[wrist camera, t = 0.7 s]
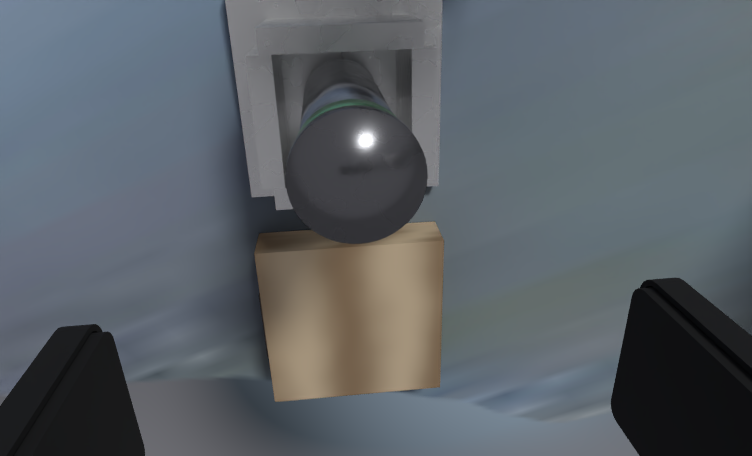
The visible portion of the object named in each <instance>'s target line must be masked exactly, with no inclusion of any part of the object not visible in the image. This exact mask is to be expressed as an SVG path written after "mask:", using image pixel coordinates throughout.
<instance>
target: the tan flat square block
mask: <svg viewBox="0 0 752 456" xmlns="http://www.w3.org/2000/svg"><path fill="white" fill-rule="evenodd" d="M254 255H255V263H256V270H257V277H258V284H259V291H260V293H259V300H260V307H261V314H262V322H263V329H264V336H265V343H266V350H267V357H269V363H270V370H271V377H272V384H273V391H274V398H275V402H281V401H292V400H303V399H314V398H325V397H336V396H347V395H358V394H369V393H380V392H391V391H402V390H413V389H424V388H435V387H440V367H441V330H442V293H443V256H444V240H443V238H442V236H441V233H440V231H439V229H438V227H437V225H436V223H435V222H420V223H407V224H405V225H404V226H403V227H402V228H401V229H399V230H398V231H396V232H395V233H393V234H392V235H390V236H388V237H386V238H383V239H380V240H378V241H374V242H370V243H363V244H348V243H341V242H336V241H333V240H330V239H327V238H325V237H323V236H321V235H319V234H317V233H316V232H314V231H313V230H301V231H286V232H271V233H259V236H258V240H257V244H256V249H255V253H254Z"/></svg>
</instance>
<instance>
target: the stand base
mask: <svg viewBox="0 0 752 456" xmlns="http://www.w3.org/2000/svg"><path fill="white" fill-rule="evenodd" d="M225 3H226V11H227V18H228V26H229V33H230V40H231V48H232V55H233V63H234V70H235V77H236V85H237V92H238V99H239V107H240V114H241V122H242V129H243V136H244V144H245V151H246V159H247V166H248V173H249V181H250V188H251V195H252V197H266V196H274V197H275V205H276V210H287V209H293V207H292V205H291V203H290V200H289V197H288V194H287V189H286V180H285V174H286V165H287V160H288V156H289V152H290V150H291V147H292V145H293V143H294V141H295V139H296V137H297V135H298V132H299V131H300V122H301V114H302V105H303V97H304V89H305V85H306V82H307V80H308V78H309V76H310V75H311V73H312V72H313V71H314V70H315V69H316V68H317V67H318V66H320V65H321V64H323V63H325V62H327V61H330V60H334V59H347V60H351V61H354V62H356V63H359V64H360V65H362V66H363V67H364V68H365V69H367V71H368V72H369V73H370V74H371V76H372V77H373V79H374V81H375V82H376V84H377V86H378V88H379V90H380V91H381V93H382V95H383V97H384V99H385V101H386V102H387V104H388V106H389V108H390V110H391V111H392V113H393V114H394V115H395V116H396V117H397V118H398V119H399V120H401V121H402V122H403V123H404V124H405V125H406V126H407V127H408V128H409V129H410V130H411V132H412V133H413V134H414V136H415V137H416V139H417V140H418V142H419V144H420V146H421V148H422V150H423V153H424V156H425V158H426V163H427V172H428V179H427V186H439V141H440V94H441V47H442V0H225Z"/></svg>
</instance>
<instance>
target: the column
mask: <svg viewBox="0 0 752 456" xmlns="http://www.w3.org/2000/svg"><path fill="white" fill-rule="evenodd" d="M427 179H428V172H427V163H426V158H425V156H424V153H423V150H422V148H421V146H420V144H419V142H418V140H417V139H416V137H415V136H414V134H413V133H412V132H411V130H410V129H409V128H408V127H407V126H406V125H405V124H404V123H403V122H402V121H401V120H399V119H398V118H397V117H396V116H395V115H394V114H393V113H392V111H391V110H390V108H389V106H388V104H387V102H386V101H385V99H384V97H383V95H382V93H381V91H380V90H379V88H378V86H377V84H376V82H375V81H374V79H373V77H372V76H371V74H370V73H369V72H368V71H367V69H365V68H364V67H363V66H362V65H360V64H359V63H356V62H354V61H351V60H347V59H334V60H330V61H327V62H325V63H323V64H321V65H320V66H318V67H317V68H316V69H315V70H314V71H313V72H312V73H311V75H310V76H309V78H308V80H307V82H306V85H305V89H304V97H303V105H302V114H301V122H300V131H299V132H298V135H297V137H296V139H295V141H294V143H293V145H292V147H291V150H290V152H289V156H288V160H287V165H286V174H285V180H286V189H287V194H288V197H289V200H290V203H291V205H292V207H293V209H294V211H295V212H296V214H297V215H298V217H299V218H300V219H301V220H302V221H303V222H304V224H306V225H307V226H308V227H309V228H310V229H311V230H313V231H314V232H316V233H317V234H319V235H321V236H323V237H325V238H327V239H330V240H333V241H336V242H341V243H348V244H363V243H370V242H374V241H378V240H380V239H383V238H386V237H388V236H390V235H392V234H393V233H395V232H396V231H398V230H399V229H401V228H402V227H403V226H404V225H405V224H407V223H408V222H409V220H410V219H411V218H412V217H413V216H414V214H415V213H416V212H417V210H418V208H419V207H420V205H421V203H422V201H423V198H424V195H425V192H426V187H427Z"/></svg>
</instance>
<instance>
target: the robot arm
mask: <svg viewBox="0 0 752 456" xmlns="http://www.w3.org/2000/svg"><path fill="white" fill-rule="evenodd" d="M611 409H612V413H613V416H614V418H615V420H616V422H617V423H618V425H619V426H620V428H621V429H622V430H623V432H624V433H625V435H626V436H627V438H628V439H629V441H630V442H631V444H632V445H633V447H634V448H635V449H636V451H637V453H638V454H639V455H640V456H752V336H751V335H750V334H748V333H747V332H746V331H745V330H744V329H742V328H741V327H740V326H739V325H737V324H736V323H735V322H734V321H733V320H731V319H730V318H729V317H728V316H726V315H725V314H724V313H723V312H722V311H720V310H719V309H718V308H717V307H715V306H714V305H713V304H712V303H711V302H709V301H708V300H707V299H706V298H704V297H703V296H702V295H701V294H700V293H698V292H697V291H696V290H695V289H693V288H692V287H691V286H690V285H689V284H687V283H686V282H685V281H684V280H682V279H680V278H665V279H653V280H646V281H644V282H643V283H642V285H641V287H640V288H638V289H636V290H635V291H634V292H633V295H632V299H631V304H630V309H629V314H628V319H627V324H626V329H625V334H624V339H623V343H622V348H621V353H620V358H619V363H618V368H617V373H616V378H615V383H614V388H613V393H612V398H611ZM0 456H145V449H144V444H143V440H142V437H141V434H140V430H139V427H138V423H137V420H136V416H135V412H134V409H133V405H132V402H131V398H130V395H129V391H128V388H127V384H126V380H125V377H124V373H123V370H122V366H121V363H120V359H119V356H118V352H117V349H116V345H115V342H114V339H113V336H112V334H111V333H110V332H102V330H101V328H100V327H99V326H98V325H96V324H91V325H79V326H66V327H60V328H58V329H57V330H56V331H55V332H54V333H53V335H52V336H51V338H50V339H49V340H48V342H47V343H46V344H45V346H44V347H43V348H42V350H41V351H40V352H39V354H38V355H37V357H36V358H35V359H34V361H33V362H32V363H31V365H30V366H29V367H28V369H27V370H26V372H25V373H24V374H23V376H22V377H21V378H20V380H19V381H18V382H17V384H16V385H15V386H14V388H13V389H12V391H11V392H10V393H9V395H8V396H7V397H6V399H5V400H4V401H3V403H2V404H1V406H0Z"/></svg>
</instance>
